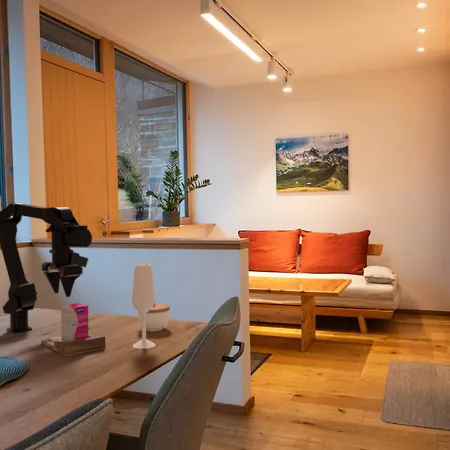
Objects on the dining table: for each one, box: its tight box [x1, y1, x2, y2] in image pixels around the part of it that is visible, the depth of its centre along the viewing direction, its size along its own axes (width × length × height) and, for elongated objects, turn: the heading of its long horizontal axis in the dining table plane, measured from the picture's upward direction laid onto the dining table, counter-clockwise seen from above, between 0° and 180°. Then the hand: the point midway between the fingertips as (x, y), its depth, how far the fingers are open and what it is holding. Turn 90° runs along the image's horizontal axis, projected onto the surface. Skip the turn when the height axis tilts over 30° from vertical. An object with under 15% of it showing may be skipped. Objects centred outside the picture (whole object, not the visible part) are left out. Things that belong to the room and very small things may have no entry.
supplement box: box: [60, 302, 89, 342], centre depth 153 cm, size 6×6×12 cm
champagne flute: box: [131, 263, 156, 350], centre depth 154 cm, size 7×7×24 cm
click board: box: [40, 333, 106, 357], centre depth 155 cm, size 18×12×4 cm, turn 40°
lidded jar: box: [137, 302, 171, 333], centre depth 174 cm, size 11×11×9 cm
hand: (62, 295), depth 167 cm, fingers open, 9 cm apart
